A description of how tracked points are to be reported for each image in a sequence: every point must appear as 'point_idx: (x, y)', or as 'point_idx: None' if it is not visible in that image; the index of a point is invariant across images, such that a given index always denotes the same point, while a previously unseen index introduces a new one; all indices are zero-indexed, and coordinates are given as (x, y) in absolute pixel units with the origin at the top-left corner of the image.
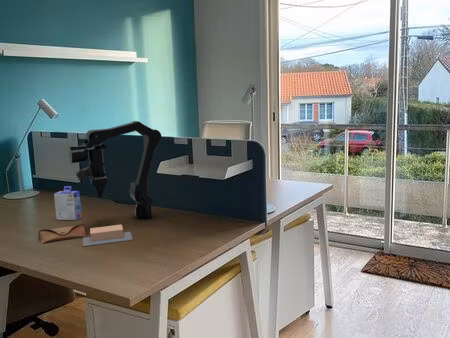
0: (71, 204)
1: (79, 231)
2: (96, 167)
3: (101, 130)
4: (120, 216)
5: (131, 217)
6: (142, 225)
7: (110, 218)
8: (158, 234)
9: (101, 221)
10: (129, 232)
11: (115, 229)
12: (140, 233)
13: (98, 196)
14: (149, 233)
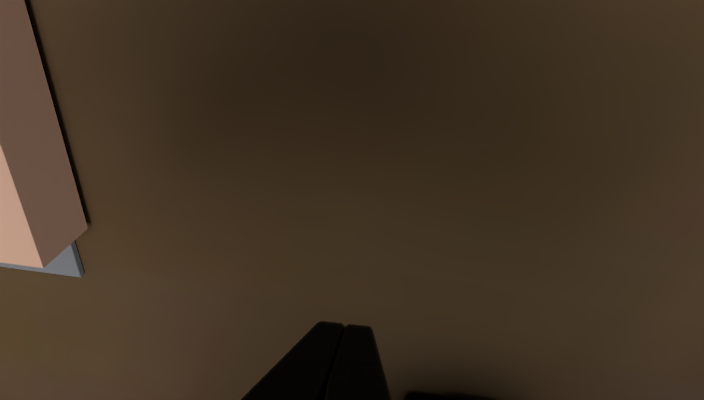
0: None
1: None
2: None
3: None
4: (624, 307)
5: (512, 370)
6: (232, 373)
7: (621, 212)
8: (16, 389)
9: (560, 103)
10: (58, 268)
11: None
12: (48, 319)
13: (304, 338)
14: (41, 359)
